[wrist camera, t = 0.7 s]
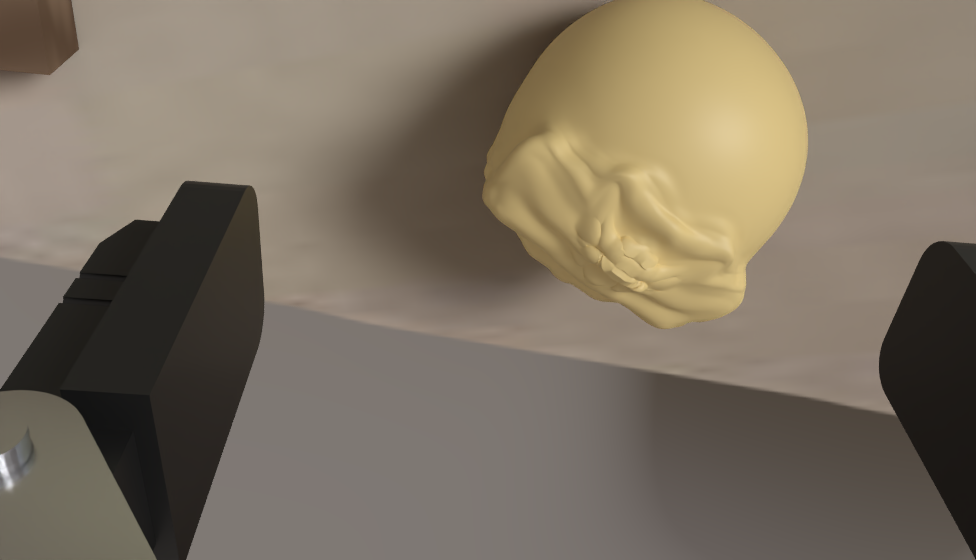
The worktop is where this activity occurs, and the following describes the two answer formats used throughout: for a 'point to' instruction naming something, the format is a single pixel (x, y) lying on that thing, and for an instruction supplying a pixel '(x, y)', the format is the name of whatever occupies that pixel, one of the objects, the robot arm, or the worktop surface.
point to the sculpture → (651, 157)
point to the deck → (36, 35)
